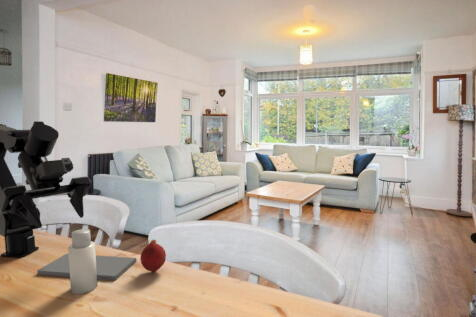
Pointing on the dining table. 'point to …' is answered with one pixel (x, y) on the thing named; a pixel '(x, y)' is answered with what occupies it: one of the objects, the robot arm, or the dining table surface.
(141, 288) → the dining table surface
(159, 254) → the onion
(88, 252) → the white bottle
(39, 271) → the slate board
